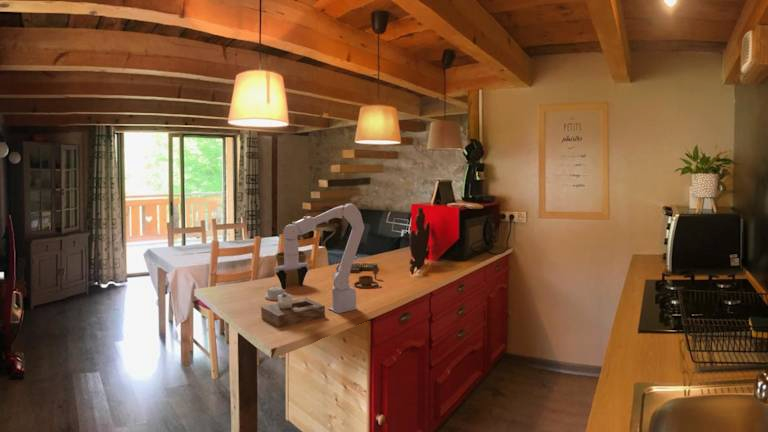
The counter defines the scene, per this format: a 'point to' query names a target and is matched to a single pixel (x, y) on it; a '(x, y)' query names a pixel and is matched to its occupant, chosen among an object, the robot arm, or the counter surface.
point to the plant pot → (291, 274)
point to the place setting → (367, 281)
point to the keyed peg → (285, 301)
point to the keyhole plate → (293, 312)
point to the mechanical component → (274, 293)
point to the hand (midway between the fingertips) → (292, 287)
